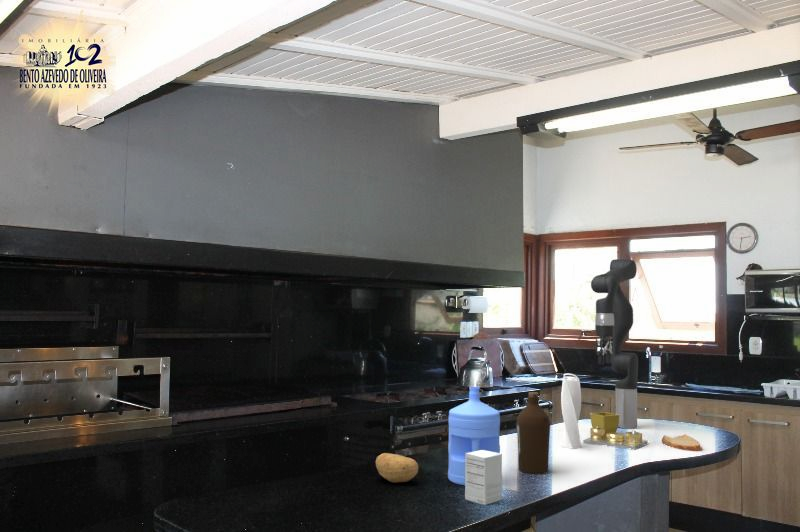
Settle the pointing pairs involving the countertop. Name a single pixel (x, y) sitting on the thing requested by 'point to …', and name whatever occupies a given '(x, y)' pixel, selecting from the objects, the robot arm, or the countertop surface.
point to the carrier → (610, 439)
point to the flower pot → (605, 421)
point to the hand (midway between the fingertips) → (604, 363)
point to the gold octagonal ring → (634, 438)
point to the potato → (396, 467)
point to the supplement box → (483, 477)
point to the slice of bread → (682, 443)
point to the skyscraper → (571, 411)
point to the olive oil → (533, 437)
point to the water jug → (471, 433)
